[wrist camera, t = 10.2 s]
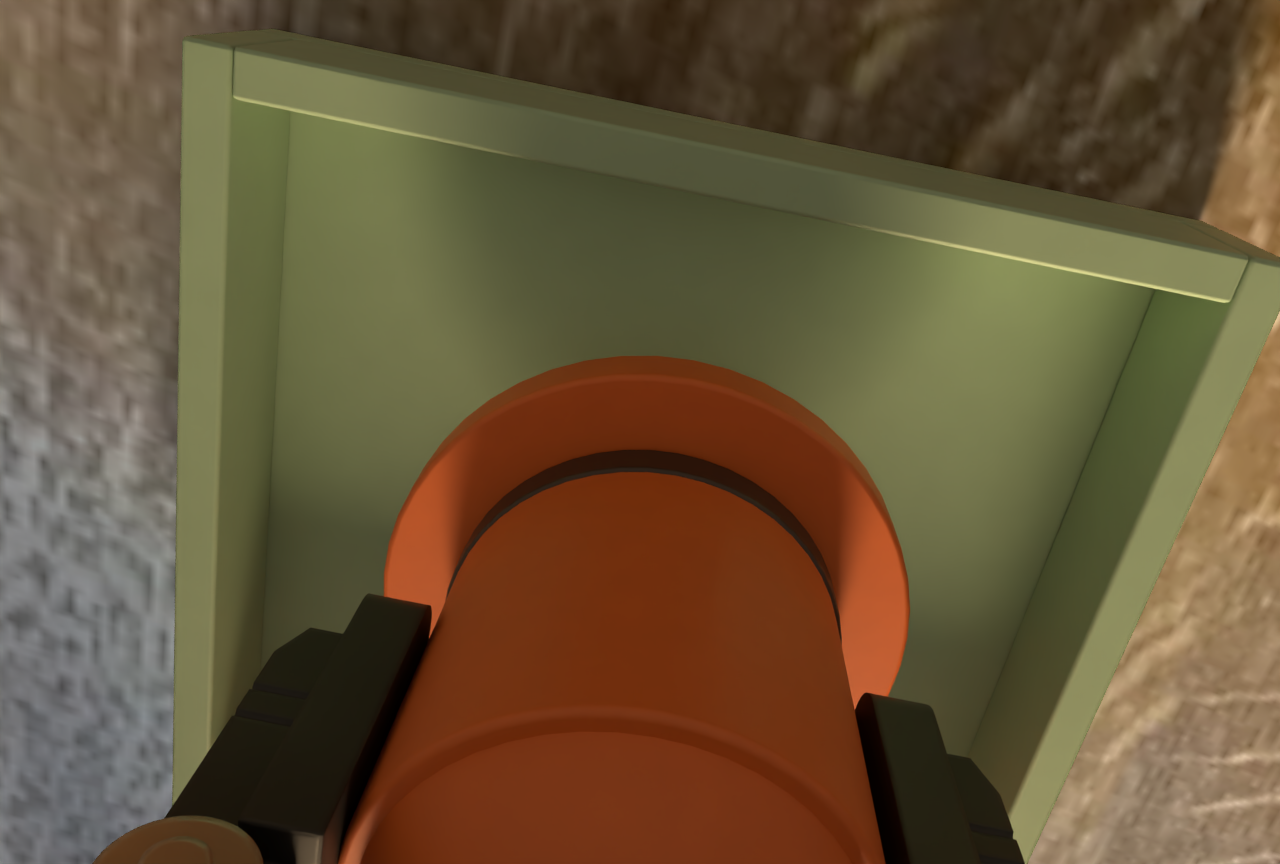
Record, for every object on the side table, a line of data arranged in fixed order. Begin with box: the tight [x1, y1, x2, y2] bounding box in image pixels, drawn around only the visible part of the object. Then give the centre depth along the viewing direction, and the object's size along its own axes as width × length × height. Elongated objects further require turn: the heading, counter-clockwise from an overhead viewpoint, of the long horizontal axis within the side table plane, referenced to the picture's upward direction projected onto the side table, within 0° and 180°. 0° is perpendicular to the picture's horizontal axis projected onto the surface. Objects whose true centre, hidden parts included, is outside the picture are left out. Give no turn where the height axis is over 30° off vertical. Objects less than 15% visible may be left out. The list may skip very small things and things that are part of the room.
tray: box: [172, 29, 1280, 864], centre depth 16 cm, size 13×12×3 cm
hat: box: [338, 356, 910, 864], centre depth 11 cm, size 7×7×7 cm
